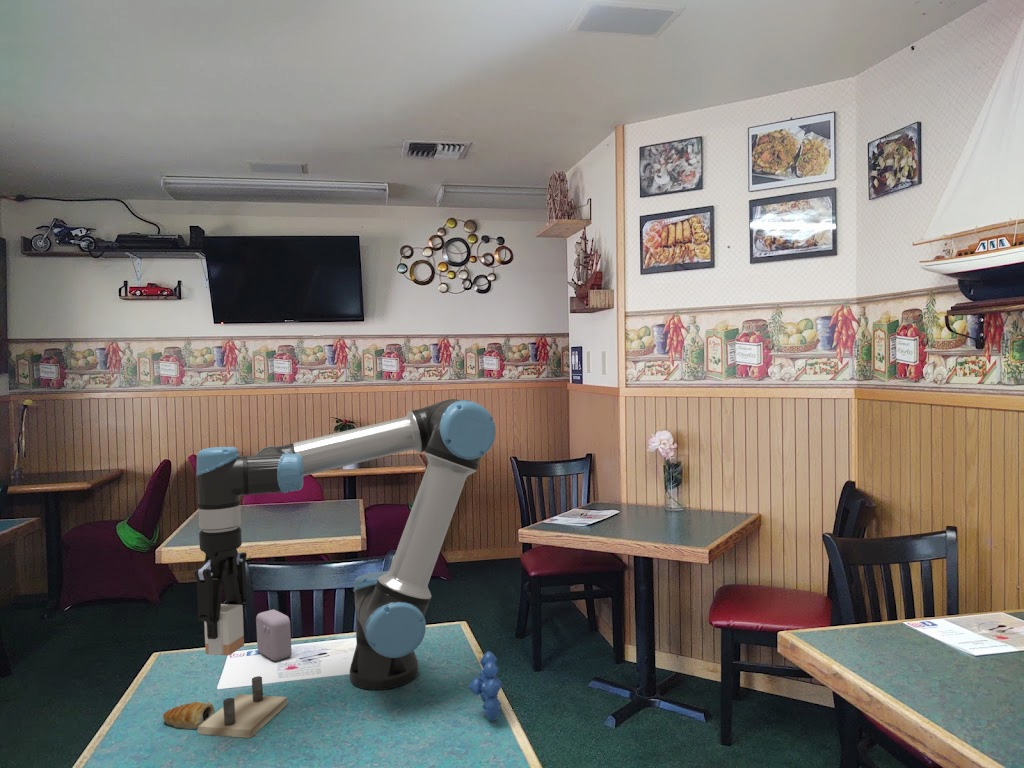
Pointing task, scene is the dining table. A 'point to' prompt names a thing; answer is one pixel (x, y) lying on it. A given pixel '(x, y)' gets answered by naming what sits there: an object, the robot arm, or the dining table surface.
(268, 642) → the electronic device
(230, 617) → the sleeve
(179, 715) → the pastry
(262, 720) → the pin board
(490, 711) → the grapes
